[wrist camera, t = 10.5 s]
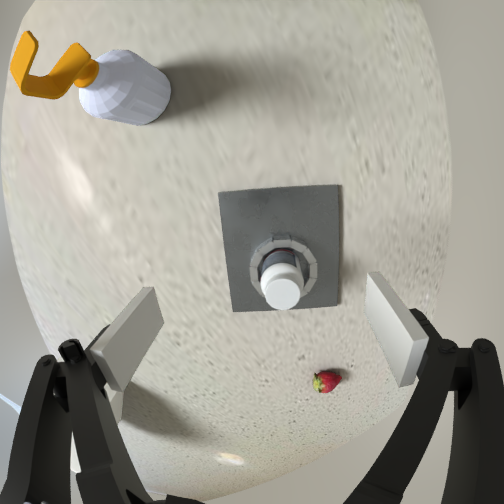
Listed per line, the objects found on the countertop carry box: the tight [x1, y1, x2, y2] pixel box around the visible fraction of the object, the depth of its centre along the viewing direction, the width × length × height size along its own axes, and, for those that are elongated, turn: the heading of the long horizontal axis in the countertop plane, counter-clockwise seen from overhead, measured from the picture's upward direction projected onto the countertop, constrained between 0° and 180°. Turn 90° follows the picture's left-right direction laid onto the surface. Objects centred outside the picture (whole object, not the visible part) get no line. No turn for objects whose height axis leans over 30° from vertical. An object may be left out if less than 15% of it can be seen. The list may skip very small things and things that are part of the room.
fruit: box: [313, 371, 342, 393], centre depth 43 cm, size 4×6×5 cm
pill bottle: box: [261, 249, 304, 310], centre depth 34 cm, size 5×5×9 cm
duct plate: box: [218, 185, 339, 312], centre depth 37 cm, size 18×16×3 cm
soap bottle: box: [10, 31, 171, 126], centre depth 21 cm, size 9×9×25 cm
